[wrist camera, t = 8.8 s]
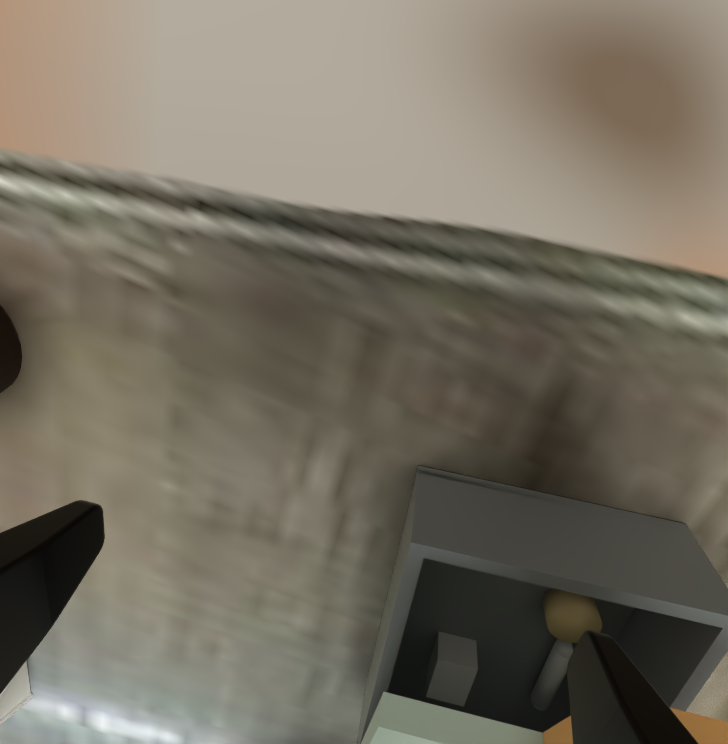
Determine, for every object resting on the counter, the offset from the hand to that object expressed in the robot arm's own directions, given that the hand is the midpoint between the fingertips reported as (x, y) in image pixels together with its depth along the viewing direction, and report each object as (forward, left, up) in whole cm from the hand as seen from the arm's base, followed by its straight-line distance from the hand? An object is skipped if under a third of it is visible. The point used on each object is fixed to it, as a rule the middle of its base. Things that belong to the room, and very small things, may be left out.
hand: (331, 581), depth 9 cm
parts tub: (-14, -8, -13) cm, 20 cm away
